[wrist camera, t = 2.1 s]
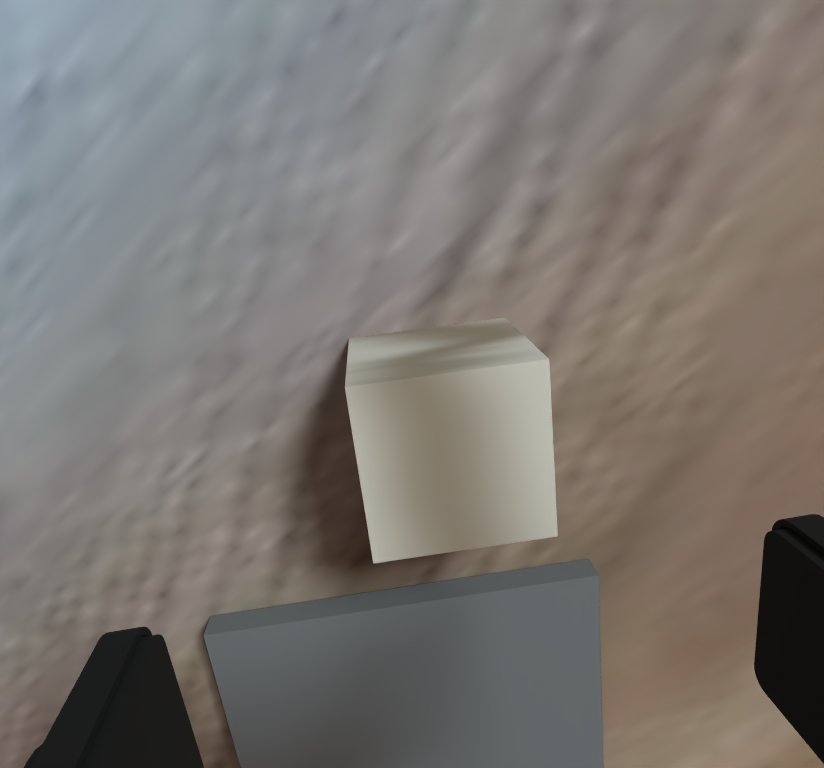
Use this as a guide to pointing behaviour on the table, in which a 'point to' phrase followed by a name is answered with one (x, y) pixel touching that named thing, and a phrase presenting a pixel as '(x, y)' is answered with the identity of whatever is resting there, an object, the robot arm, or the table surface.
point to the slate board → (420, 675)
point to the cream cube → (452, 438)
